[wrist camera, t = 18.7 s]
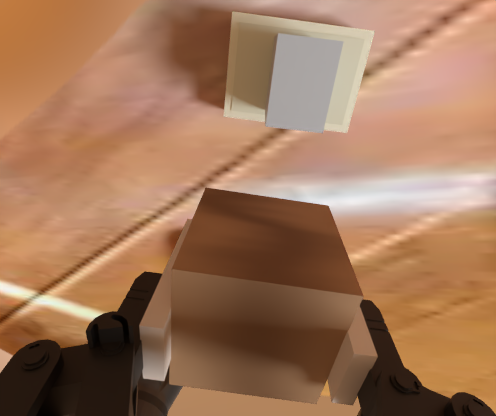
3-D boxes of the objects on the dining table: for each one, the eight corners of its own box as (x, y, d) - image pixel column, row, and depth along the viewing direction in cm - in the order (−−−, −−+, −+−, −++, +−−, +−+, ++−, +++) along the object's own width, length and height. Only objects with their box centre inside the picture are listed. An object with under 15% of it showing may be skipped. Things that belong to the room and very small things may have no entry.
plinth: (227, 110, 37) (223, 116, 34) (235, 15, 33) (231, 10, 29) (339, 125, 38) (347, 133, 34) (362, 33, 33) (375, 30, 29)
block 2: (198, 281, 17) (169, 384, 12) (205, 187, 15) (171, 268, 9) (301, 295, 18) (316, 404, 12) (328, 205, 15) (363, 296, 9)
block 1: (264, 109, 33) (265, 126, 26) (274, 37, 30) (278, 33, 23) (310, 115, 33) (322, 133, 26) (324, 43, 30) (343, 41, 23)
